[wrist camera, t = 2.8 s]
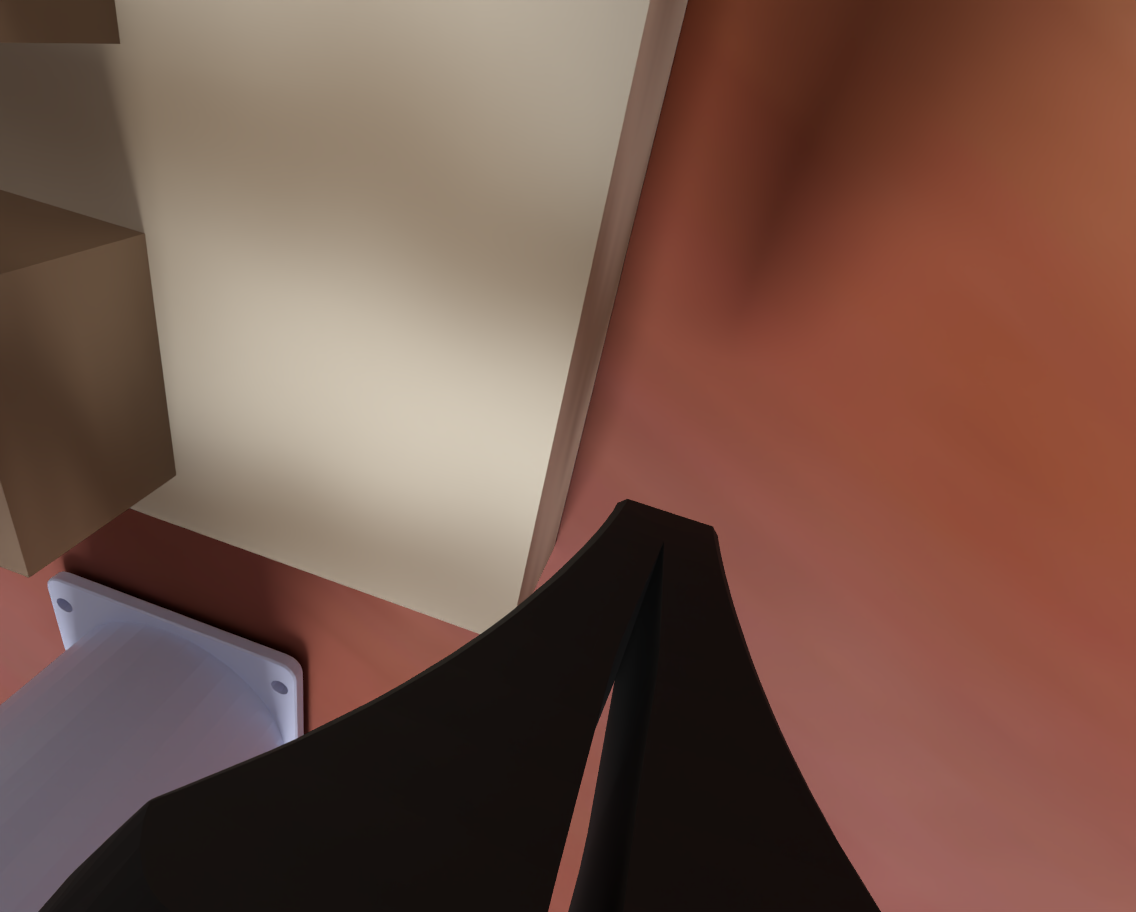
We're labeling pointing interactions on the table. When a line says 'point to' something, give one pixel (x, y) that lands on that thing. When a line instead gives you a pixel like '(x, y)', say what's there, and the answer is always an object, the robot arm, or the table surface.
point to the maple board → (364, 261)
